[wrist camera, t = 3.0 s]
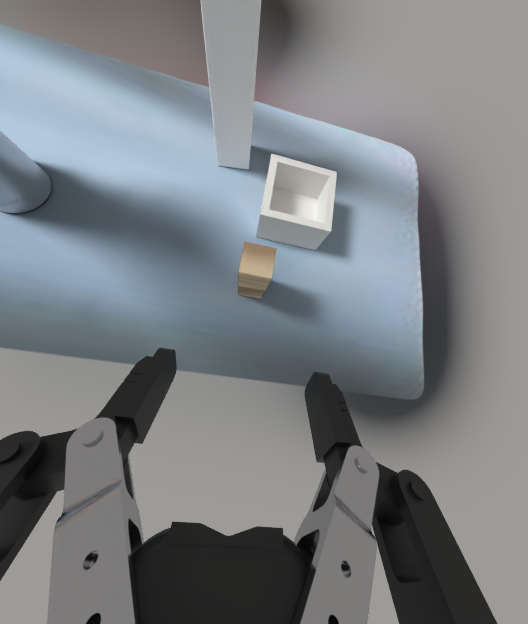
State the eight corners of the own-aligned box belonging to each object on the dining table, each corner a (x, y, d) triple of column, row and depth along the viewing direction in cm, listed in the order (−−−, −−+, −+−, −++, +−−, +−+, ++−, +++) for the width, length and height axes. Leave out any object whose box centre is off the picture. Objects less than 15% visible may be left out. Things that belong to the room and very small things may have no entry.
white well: (315, 250, 35) (331, 231, 30) (256, 236, 34) (260, 214, 28) (321, 199, 38) (337, 172, 32) (265, 184, 36) (271, 153, 30)
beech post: (260, 299, 32) (271, 278, 22) (237, 294, 32) (238, 272, 22) (264, 277, 33) (276, 248, 23) (242, 272, 33) (244, 241, 23)
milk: (249, 145, 37) (268, -125, 16) (248, 170, 36) (269, -82, 15) (217, 140, 37) (194, -153, 15) (216, 166, 35) (189, -109, 14)
